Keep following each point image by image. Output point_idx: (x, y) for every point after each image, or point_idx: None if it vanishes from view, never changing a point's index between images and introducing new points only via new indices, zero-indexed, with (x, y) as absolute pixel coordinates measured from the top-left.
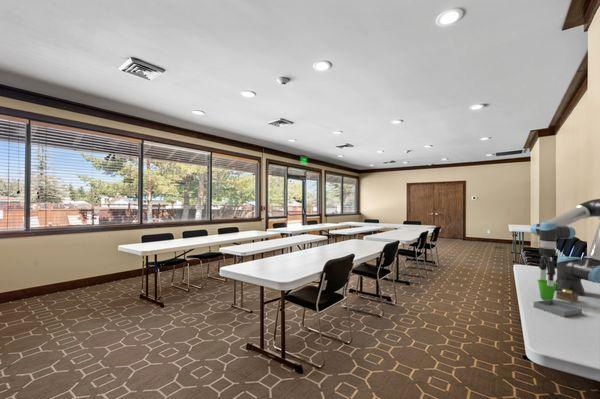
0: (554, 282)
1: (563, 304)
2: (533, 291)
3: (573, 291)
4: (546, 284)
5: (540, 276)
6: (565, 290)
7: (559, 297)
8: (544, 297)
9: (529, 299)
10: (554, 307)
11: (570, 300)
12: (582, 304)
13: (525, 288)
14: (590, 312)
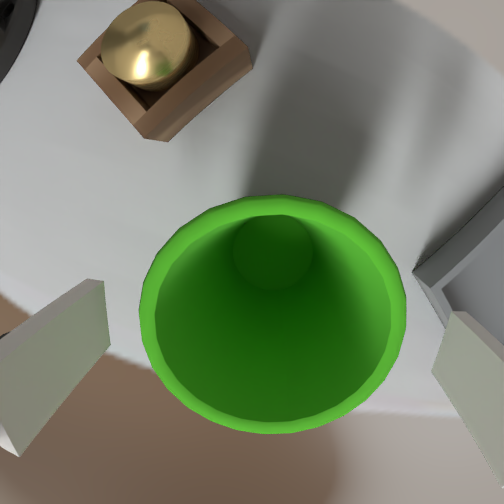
0: (245, 217)
1: (496, 230)
2: (55, 264)
3: (20, 7)
4: (371, 360)
5: (82, 374)
6: (173, 59)
7: (182, 122)
8: (307, 287)
9: None
10: (487, 283)
11: (250, 62)
12: (284, 6)
13: (15, 290)
14: (476, 70)
